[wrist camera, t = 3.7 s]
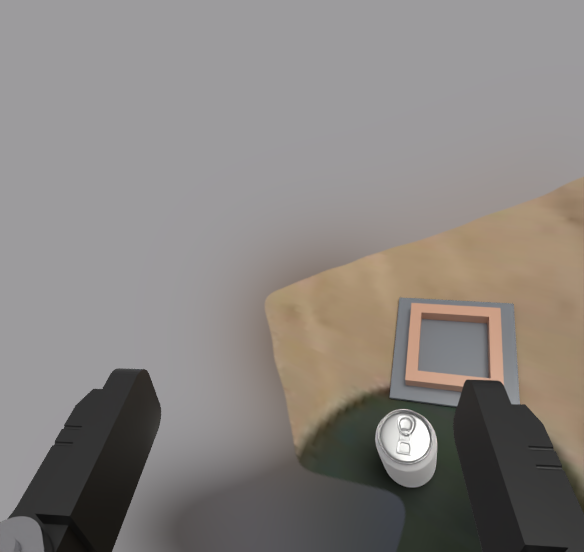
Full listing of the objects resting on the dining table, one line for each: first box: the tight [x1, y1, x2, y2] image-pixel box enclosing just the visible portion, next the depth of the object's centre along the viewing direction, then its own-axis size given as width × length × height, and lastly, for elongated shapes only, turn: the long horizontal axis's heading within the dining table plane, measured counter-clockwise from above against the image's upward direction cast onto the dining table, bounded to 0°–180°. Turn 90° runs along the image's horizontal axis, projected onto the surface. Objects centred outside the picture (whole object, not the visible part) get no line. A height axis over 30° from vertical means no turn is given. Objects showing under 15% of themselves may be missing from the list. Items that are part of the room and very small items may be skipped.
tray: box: [390, 298, 520, 408], centre depth 59 cm, size 16×16×3 cm
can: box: [375, 409, 437, 487], centre depth 49 cm, size 6×6×12 cm
